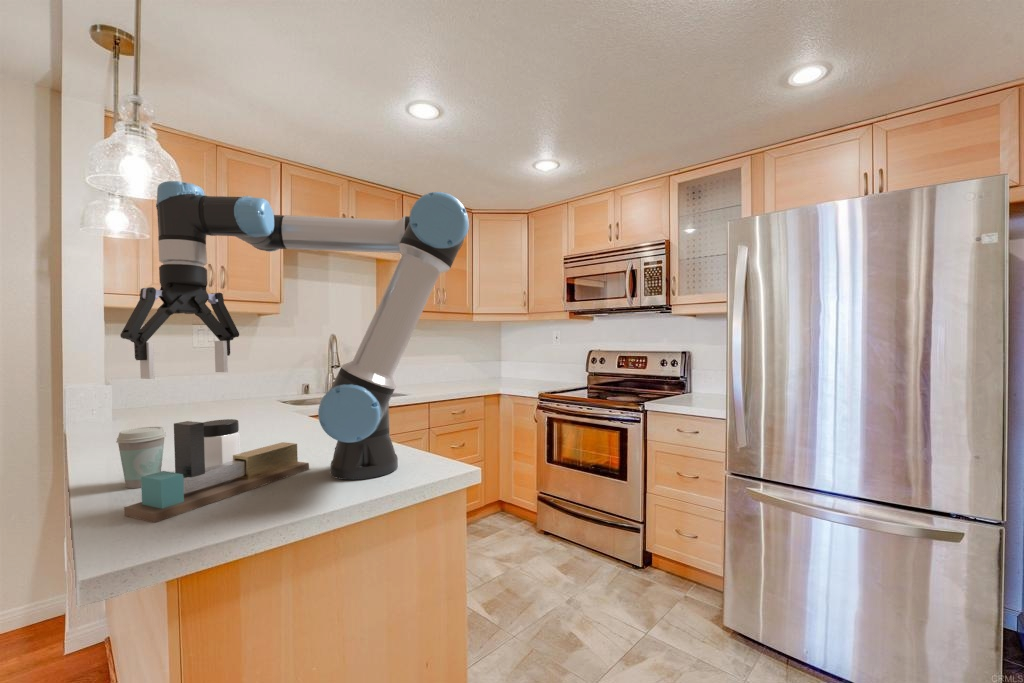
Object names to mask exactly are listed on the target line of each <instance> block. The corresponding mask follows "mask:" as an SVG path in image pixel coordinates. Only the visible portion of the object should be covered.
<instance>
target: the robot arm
mask: <svg viewBox="0 0 1024 683" xmlns="http://www.w3.org/2000/svg"><path fill="white" fill-rule="evenodd" d="M156 192H157V193H156V194H157V195H156V204H155V208H156V210H157V211H156V212H157V228H158V231H157V232H158V236H157V237H158V241H157V242H158V261H159V262H160V263H161V265H159V267H158V270H159V271H158V273H159V274H158V276H159V280H158V281H159V284H160V289H156V288H155V287H143V288H141V289H140V291H139V292H140V294H139V300H138V302H137V304H136V305H135V307H134V309H133V311H132V312H131V315H130V316H129V319H128V320H127V322H126V324H125V326H124V327H123V329H122V331H121V333H120V338H121V339H123V340H128V341H130V342H132V343H133V346H134V347H133V348H134V359H135V361H139V367H140V368H139V369H140V379H141V380H144V379H146V380H151V379H155V358H154V356H155V355H154V353H155V352H154V351H155V350H154V342H151V341H150V342H148V341H149V340H150V339H151V337H152V336H153V335H154V334H156V332H157V331H158V330H159V329H160V328H161V327H162V325H164V323H165V322H166V321H167V320H168V319H169V318H170V316H172V315H173V314H176V315H177V314H178V315H179V314H186V315H195V316H196V317H198V319H200V320H201V321H202V322H203V323H204V325H205V326H206V327H207V328H208V329H209V330H210V332H212V334H214V336H215V337H216V338H217V340H214V367H215V368H214V369H215V373H228V371H229V369H228V368H229V366H228V356H231V341H234V338H239V336H240V332H239V330H238V329H237V326H236V324H235V321H234V320H233V319H232V317H231V315H230V312H229V310H228V309H227V306H226V305H225V300H224V294H223V293H222V292H212V293H208V291H207V286H208V269H207V268H206V267H204V266H206V265H207V264H208V258H207V256H208V255H207V236H210V237H211V236H212V237H216V236H218V237H220V236H222V237H236V238H237V239H240V241H243V242H245V243H247V244H249V245H251V246H252V247H253V248H255V249H257V250H260V251H265V252H276V251H278V250H308V251H309V250H310V251H331V252H332V251H336V252H359V253H360V252H363V253H382V254H383V253H385V254H388V253H390V254H399V255H401V258H400V259H399V262H398V264H397V266H396V268H395V270H394V271H393V274H392V276H391V279H390V280H389V283H388V285H387V286H386V289H385V291H384V293H383V296H382V297H381V299H380V302H379V304H378V306H377V309H376V310H375V313H374V314H373V316H372V319H371V320H370V323H369V325H368V328H367V330H366V331H365V334H364V335H363V338H362V340H361V342H360V344H359V347H358V348H357V350H356V353H355V355H354V358H353V359H352V360H351V361H349V362H346V363H344V364H342V365H341V367H340V368H339V371H338V373H337V375H336V377H335V379H334V382H332V386H331V387H330V389H329V390H328V391H327V392H326V393H325V394H324V395H323V397H322V399H321V400H320V403H319V405H318V406H319V407H318V412H317V415H318V421H319V423H320V426H321V428H322V430H323V431H324V432H325V433H326V435H327V436H329V437H330V438H331V439H334V440H336V441H337V443H336V445H335V449H334V453H333V457H332V460H331V461H330V464H329V465H330V467H329V468H330V470H329V471H330V475H331V477H333V478H335V479H340V480H349V481H350V480H365V479H373V478H377V477H378V478H379V477H383V476H385V475H388V474H391V473H392V472H395V471H396V470H397V469H398V467H399V461H398V460H399V459H398V456H397V453H396V452H395V448H394V445H393V442H392V441H393V440H392V439H391V436H390V407H389V406H390V405H389V403H390V400H391V399H392V396H393V393H394V392H395V390H396V384H395V382H394V379H393V376H394V374H395V372H396V370H397V367H398V366H399V364H400V361H401V359H402V357H403V355H404V352H405V350H406V348H407V346H408V344H409V341H410V339H411V337H412V335H413V333H414V331H415V329H416V326H417V325H418V322H419V320H420V318H421V315H422V313H423V311H424V309H425V306H426V305H427V303H428V300H429V299H430V296H431V293H432V292H433V289H434V288H435V285H436V283H437V281H438V279H439V276H440V275H441V274H442V273H445V272H448V271H450V270H451V268H452V266H453V264H454V262H455V259H456V257H457V255H458V252H459V251H460V249H461V248H462V246H463V243H464V239H466V236H467V234H468V232H469V228H470V224H469V223H470V220H469V216H468V213H467V210H466V208H465V206H464V204H463V203H462V202H461V201H460V200H459V199H458V198H456V197H455V196H454V195H452V194H450V193H446V192H442V191H433V192H428V193H426V194H423V195H422V196H420V197H419V198H418V199H417V200H416V201H415V202H414V204H413V205H412V207H411V209H410V214H409V215H408V216H405V215H404V216H402V217H401V219H399V220H398V219H397V220H395V219H373V218H357V217H356V218H354V217H353V218H351V217H335V216H333V217H331V216H311V215H309V216H308V215H307V216H306V215H291V214H290V215H287V214H286V215H282V214H281V215H280V214H274V210H273V208H272V207H271V203H270V202H269V200H267V199H265V198H261V197H252V196H248V195H246V196H244V195H243V196H221V195H219V196H217V195H216V196H215V195H212V196H211V195H205V191H204V189H203V188H202V187H201V186H199V185H196V184H194V183H191V182H183V181H178V180H177V181H175V180H169V181H163V182H161V183H159V184H158V186H157V191H156ZM158 299H160V301H162V304H161V305H160V306H159V307H158V308H157V309H156V312H155V313H154V314H153V315H152V316H151V317H150V318H149V320H147V322H146V323H145V321H146V319H147V317H148V315H149V314H150V312H151V309H152V308H153V306H154V305H155V302H156V301H158ZM207 302H208V303H209V305H210V306H211V309H212V310H213V312H214V314H215V315H214V314H213V313H212V310H211V309H210V307H209V306H208V305H207ZM216 317H217V318H216ZM144 323H145V324H144Z"/></svg>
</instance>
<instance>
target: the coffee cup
mask: <svg viewBox="0 0 1024 683" xmlns="http://www.w3.org/2000/svg"><path fill="white" fill-rule="evenodd" d="M165 437H167V433H166V432H165V430H164V427H162V426H146V427H145V426H144V427H136V428H130V429H125V430H122V431H119V432H118V436H117V438H116V442H115V443H117V445H118V450H119V456H120V462H121V466H122V473H123V477H124V482H125V488H127V489H139V488H141V477H142V476H146V475H150V474H154V473H158V472H161V471H162V466H163V455H164V448H165V446H164V445H165Z"/></svg>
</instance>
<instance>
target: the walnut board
mask: <svg viewBox="0 0 1024 683" xmlns="http://www.w3.org/2000/svg"><path fill="white" fill-rule="evenodd" d="M308 470H310V463H309V462H304V461H298V464H295V465H292V466H289V467H286V468H283V469H280V470H277V471H274V472H271V473H267V474H264V475H261V476H258V477H255V478H252V479H249V480H248V479H241V478H234V479H231V480H228V481H225V482H221V483H218V484H215V485H212V486H209V487H205V488H202V489H199V490H196V491H192V492H189V493H186V494H184V502H181V503H178V504H175V505H172V506H169V507H166V508H163V509H161V508H156V507H152V506H147V505H143V504H142V501H140V502H137V503H134V504H130V505H128V506H124V510H123V511H124V516H126V517H130V518H133V519H136V520H137V519H138V520H143V521H147V522H151V523H158V522H161V521H164V520H167V519H168V518H169V519H170V518H172V517H175V516H178V515H180V514H184V513H187V512H189V511H192V510H195V509H197V508H201V507H205V506H207V505H210V504H213V503H216V502H218V501H221V500H224V499H227V498H230V497H233V496H236V495H239V494H241V493H245V492H247V491H249V490H250V491H251V490H253V489H257V488H258V487H262V486H264V485H265V486H266V485H268V484H270V483H273V482H275V481H280V480H281V479H285V478H288V477H291V476H294V475H296V474H299V473H301V472H305V471H308Z"/></svg>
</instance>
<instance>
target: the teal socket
mask: <svg viewBox="0 0 1024 683" xmlns="http://www.w3.org/2000/svg"><path fill="white" fill-rule="evenodd" d="M141 502H142V504H143V505H147V506H152V507H156V508H161V509H163V508H166V507H169V506H172V505H175V504H178V503H181V502H184V487H183V474H179V473H175V472H171V471H165V470H161V472H158V473H154V474H150V475H146V476H142V477H141Z"/></svg>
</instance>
